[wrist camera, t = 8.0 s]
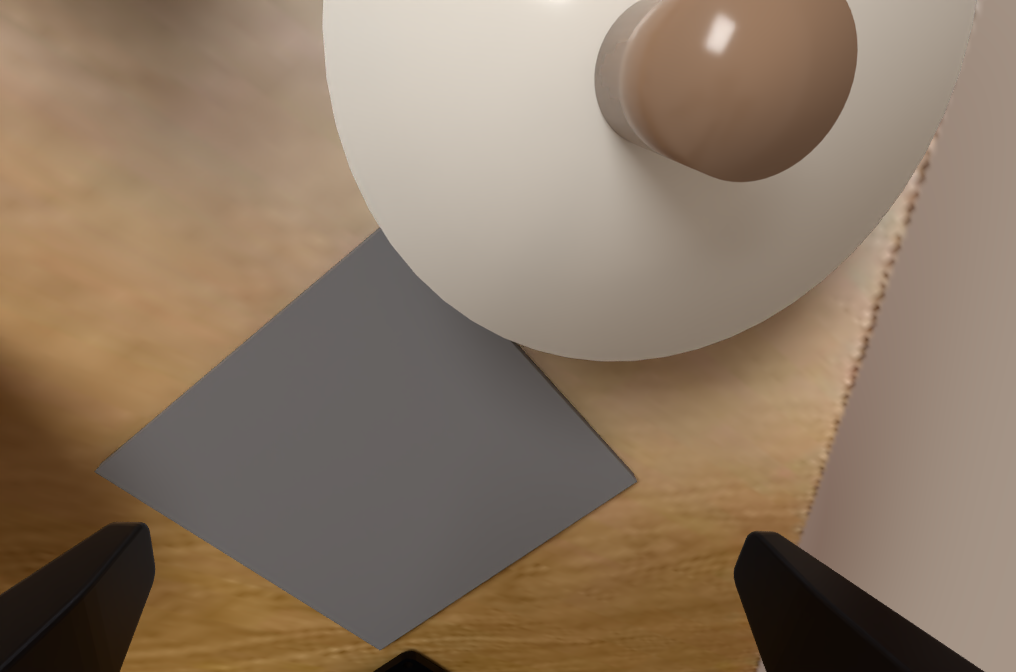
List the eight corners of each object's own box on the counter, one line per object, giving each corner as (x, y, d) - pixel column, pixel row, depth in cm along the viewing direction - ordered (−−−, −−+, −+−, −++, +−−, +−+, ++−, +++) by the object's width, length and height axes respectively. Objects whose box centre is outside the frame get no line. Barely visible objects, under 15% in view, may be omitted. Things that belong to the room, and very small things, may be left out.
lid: (1008, 124, 14) (1265, 153, 10) (572, 428, 17) (621, 559, 13) (794, -634, 9) (1184, -1379, 4) (181, 6, 11) (16, -28, 7)
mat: (633, 473, 25) (637, 481, 24) (380, 640, 27) (380, 650, 27) (397, 211, 18) (397, 215, 18) (101, 462, 21) (94, 471, 21)
